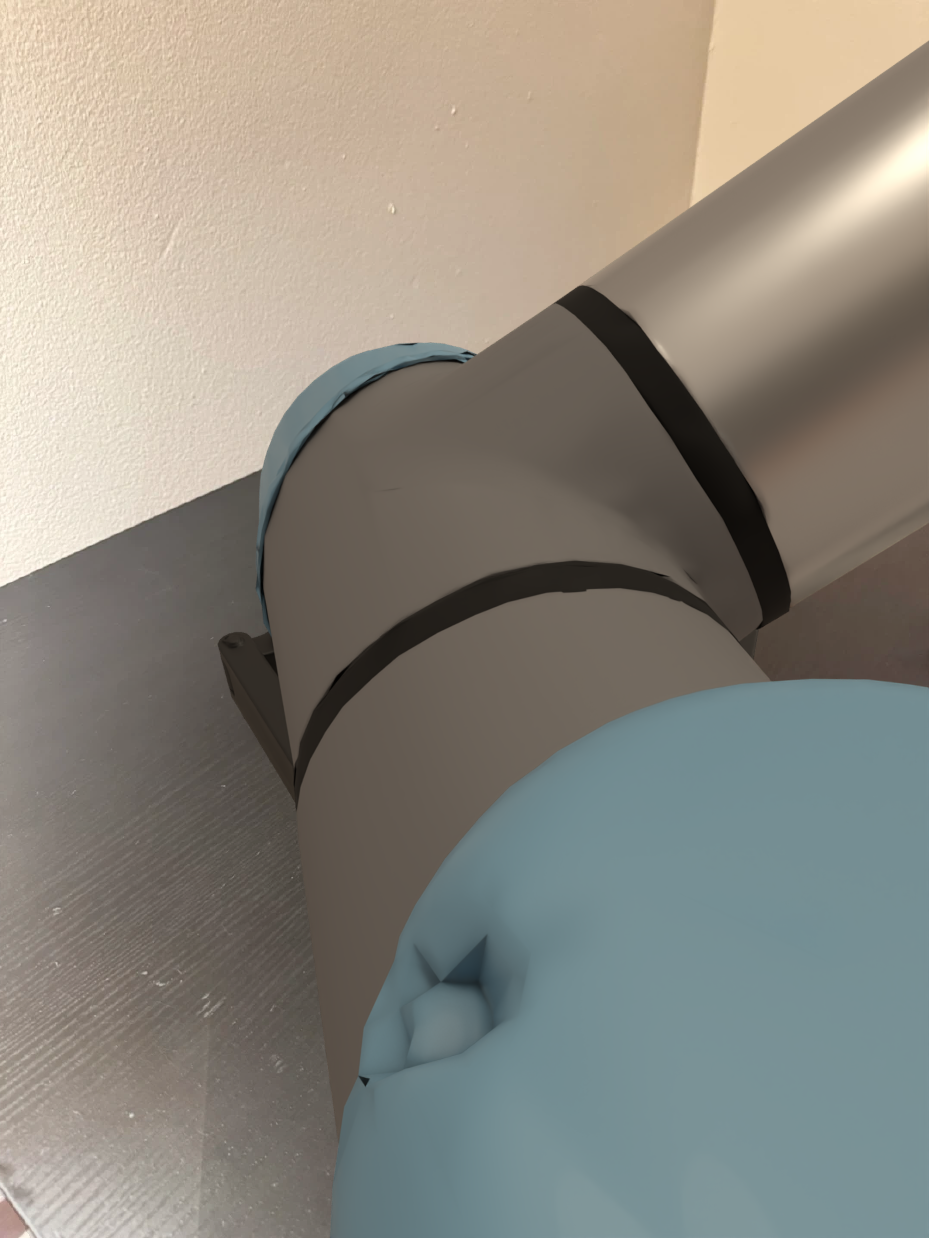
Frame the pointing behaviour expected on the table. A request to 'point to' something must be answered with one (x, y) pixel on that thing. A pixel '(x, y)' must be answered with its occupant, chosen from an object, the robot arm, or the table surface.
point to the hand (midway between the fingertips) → (473, 536)
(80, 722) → the table surface
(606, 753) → the robot arm
